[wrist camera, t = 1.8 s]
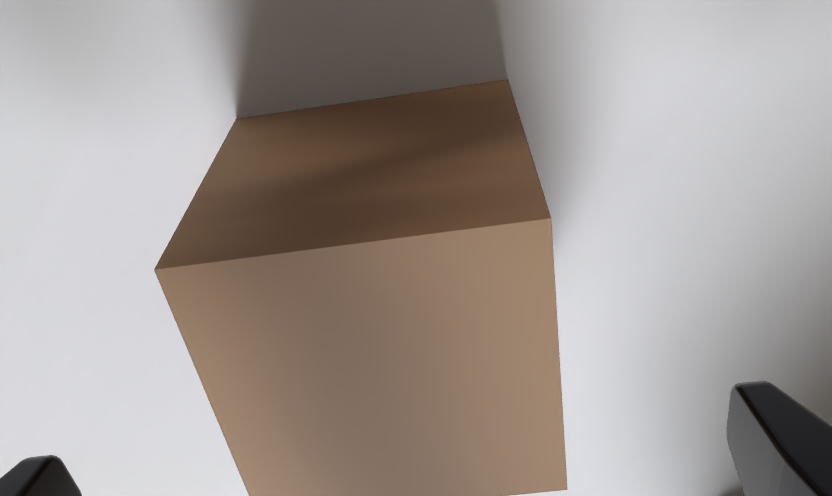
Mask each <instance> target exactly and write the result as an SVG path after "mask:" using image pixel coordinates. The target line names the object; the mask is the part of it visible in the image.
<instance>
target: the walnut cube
mask: <svg viewBox="0 0 832 496" xmlns="http://www.w3.org/2000/svg"><path fill="white" fill-rule="evenodd" d="M154 271H155V273H156V275H157V278H158V280H159V282H160V285H161V287H162V290H163V292H164V294H165V297H166V299H167V301H168V304H169V306H170V309H171V311H172V313H173V316H174V318H175V321H176V323H177V325H178V328H179V330H180V332H181V335H182V337H183V340H184V342H185V344H186V347H187V349H188V351H189V354H190V356H191V359H192V361H193V363H194V366H195V368H196V371H197V373H198V375H199V378H200V380H201V382H202V385H203V387H204V390H205V392H206V394H207V397H208V399H209V401H210V404H211V406H212V409H213V411H214V413H215V416H216V418H217V421H218V423H219V425H220V428H221V430H222V432H223V435H224V437H225V440H226V442H227V444H228V447H229V449H230V451H231V454H232V456H233V459H234V461H235V463H236V466H237V468H238V471H239V473H240V475H241V478H242V480H243V482H244V485H245V487H246V490H247V492H248V494H249V496H509V495H519V494H529V493H539V492H549V491H559V490H567V475H566V458H565V442H564V425H563V408H562V391H561V375H560V358H559V341H558V325H557V308H556V291H555V275H554V258H553V241H552V225H551V216H550V213H549V210H548V207H547V204H546V200H545V197H544V194H543V191H542V188H541V184H540V181H539V178H538V175H537V172H536V168H535V165H534V162H533V159H532V156H531V152H530V149H529V146H528V143H527V140H526V136H525V133H524V130H523V127H522V124H521V120H520V117H519V114H518V111H517V108H516V104H515V101H514V98H513V95H512V92H511V88H510V85H509V82H508V80H501V81H495V82H488V83H481V84H474V85H467V86H460V87H453V88H446V89H440V90H433V91H426V92H419V93H412V94H405V95H398V96H391V97H384V98H378V99H371V100H364V101H357V102H350V103H343V104H336V105H329V106H323V107H316V108H309V109H302V110H295V111H288V112H281V113H274V114H268V115H261V116H254V117H247V118H240V119H236V120H235V122H234V124H233V126H232V128H231V129H230V131H229V133H228V135H227V137H226V139H225V140H224V142H223V144H222V146H221V148H220V150H219V151H218V153H217V155H216V157H215V159H214V161H213V163H212V164H211V166H210V168H209V170H208V172H207V174H206V175H205V177H204V179H203V181H202V183H201V185H200V186H199V188H198V190H197V192H196V194H195V196H194V197H193V199H192V201H191V203H190V205H189V207H188V209H187V210H186V212H185V214H184V216H183V218H182V220H181V221H180V223H179V225H178V227H177V229H176V231H175V232H174V234H173V236H172V238H171V240H170V242H169V243H168V245H167V247H166V249H165V251H164V253H163V254H162V256H161V258H160V260H159V262H158V264H157V266H156V267H155V269H154Z"/></svg>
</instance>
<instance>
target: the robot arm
mask: <svg viewBox="0 0 832 496" xmlns="http://www.w3.org/2000/svg"><path fill="white" fill-rule="evenodd" d="M727 439H728V444H729V448H730V451H731V454H732V457H733V461H734V464H735V467H736V470H737V473H738V476H739V479H740V482H741V485H742V488H743V491H744V494H745V496H832V426H830V425H829V424H827V423H826V422H825V421H823V420H822V419H820V418H819V417H818V416H816V415H815V414H814V413H812V412H811V411H809V410H808V409H807V408H805V407H804V406H802V405H801V404H800V403H798V402H797V401H795V400H794V399H793V398H791V397H790V396H788V395H787V394H786V393H784V392H783V391H781V390H780V389H779V388H777V387H776V386H774V385H773V384H771V383H769V382H767V381H757V382H747V383H738V384H736V385H734V386H733V388H732V390H731V395H730V404H729V413H728V421H727ZM0 496H82V494H81V492H80V490H79V488H78V486H77V485H76V483H75V481H74V480H73V478H72V477H71V475H70V473H69V472H68V470H67V468H66V467H65V465H64V463H63V462H62V460H61V459H60V458H58V457H57V456H53V455H48V456H38V457H30V458H27V459H24V460H22V461H21V462H20V463H18V464H17V465H16V466H15V467H14V468H12V469H11V470H10V471H9V472H8V473H6V474H5V475H4V476H3V477H2V478H0Z"/></svg>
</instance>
